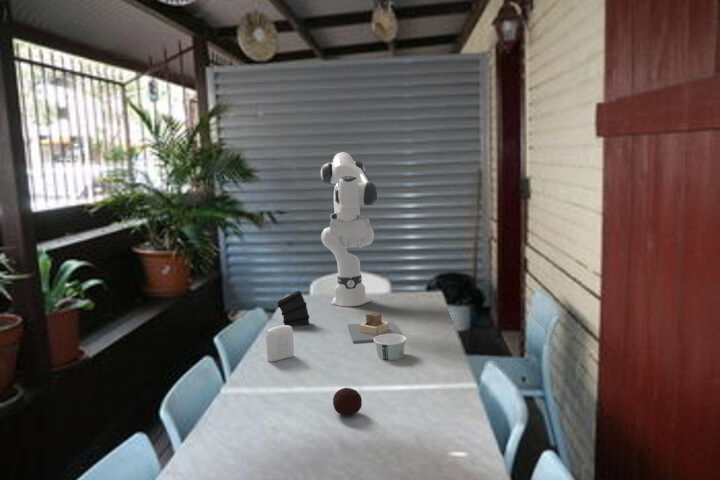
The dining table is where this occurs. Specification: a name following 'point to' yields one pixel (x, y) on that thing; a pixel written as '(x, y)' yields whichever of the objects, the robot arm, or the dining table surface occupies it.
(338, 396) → the brown ball
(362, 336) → the mount plate
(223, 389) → the dining table surface
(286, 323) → the black ridged flat block
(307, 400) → the dining table surface
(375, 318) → the block
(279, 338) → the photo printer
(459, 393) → the dining table surface
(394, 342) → the food container
